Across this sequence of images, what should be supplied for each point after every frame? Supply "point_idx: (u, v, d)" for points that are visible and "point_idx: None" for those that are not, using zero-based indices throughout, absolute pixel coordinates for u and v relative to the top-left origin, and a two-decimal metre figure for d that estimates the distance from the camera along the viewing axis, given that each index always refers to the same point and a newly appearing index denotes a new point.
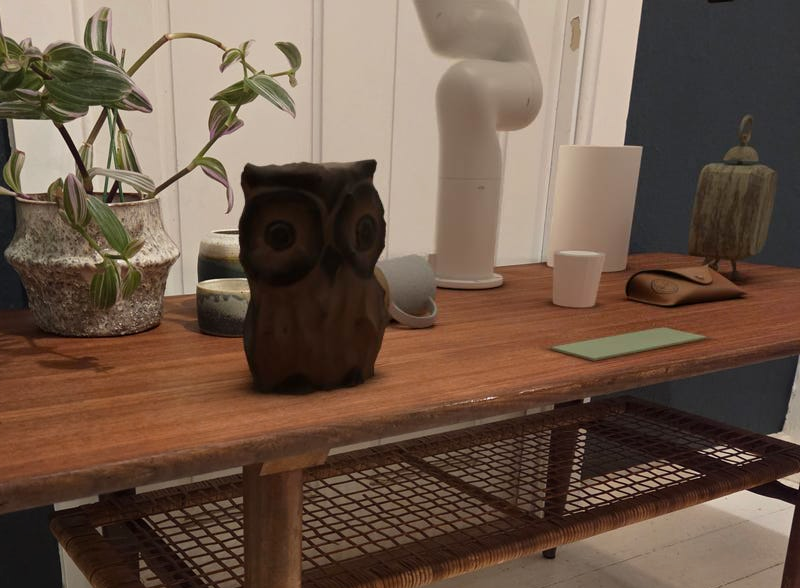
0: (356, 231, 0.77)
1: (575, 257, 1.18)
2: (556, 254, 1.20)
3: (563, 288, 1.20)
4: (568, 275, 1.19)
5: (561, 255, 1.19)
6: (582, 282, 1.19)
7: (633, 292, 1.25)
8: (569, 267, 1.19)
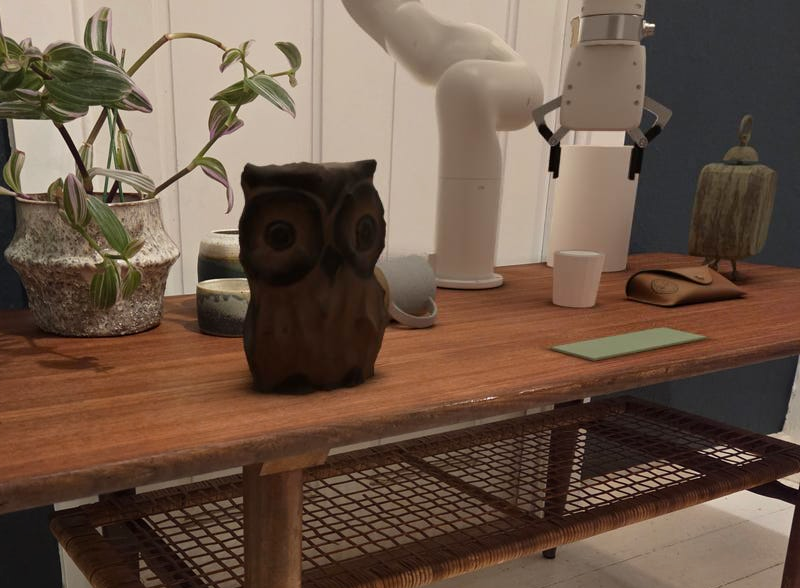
0: (356, 231, 0.77)
1: (575, 257, 1.18)
2: (556, 254, 1.20)
3: (563, 288, 1.20)
4: (568, 275, 1.19)
5: (561, 255, 1.19)
6: (582, 282, 1.19)
7: (633, 292, 1.25)
8: (569, 267, 1.19)
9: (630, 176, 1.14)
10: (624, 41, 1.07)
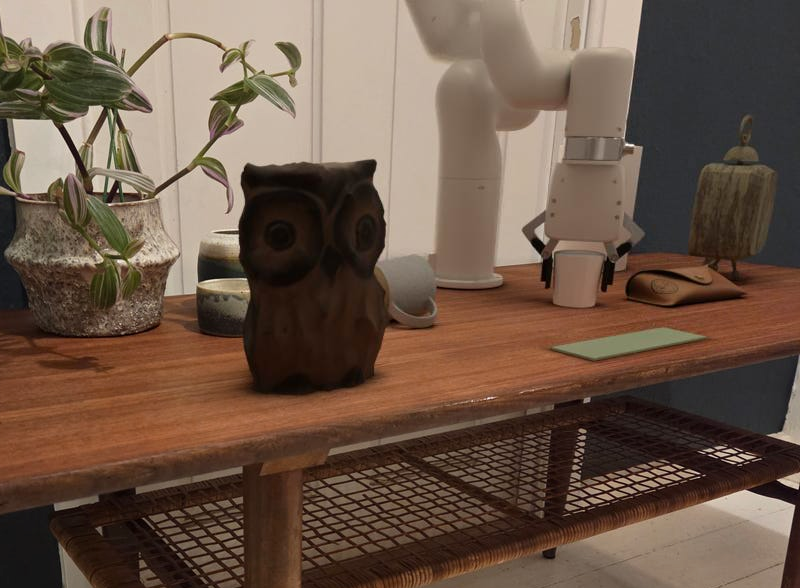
0: (356, 231, 0.77)
1: (575, 257, 1.18)
2: (556, 254, 1.20)
3: (563, 288, 1.20)
4: (568, 275, 1.19)
5: (561, 255, 1.19)
6: (582, 282, 1.19)
7: (633, 292, 1.25)
8: (569, 267, 1.19)
9: (602, 288, 1.20)
10: (605, 162, 1.13)
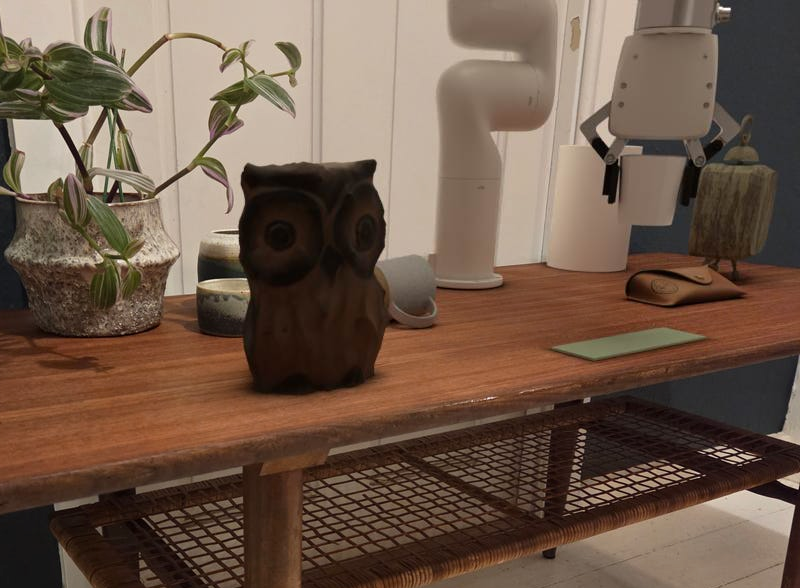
0: (356, 231, 0.77)
1: (651, 158, 0.91)
2: (625, 157, 0.94)
3: (633, 201, 0.94)
4: (641, 183, 0.93)
5: (632, 157, 0.93)
6: (659, 192, 0.93)
7: (633, 292, 1.26)
8: (642, 172, 0.92)
9: (683, 201, 0.94)
10: (694, 29, 0.86)
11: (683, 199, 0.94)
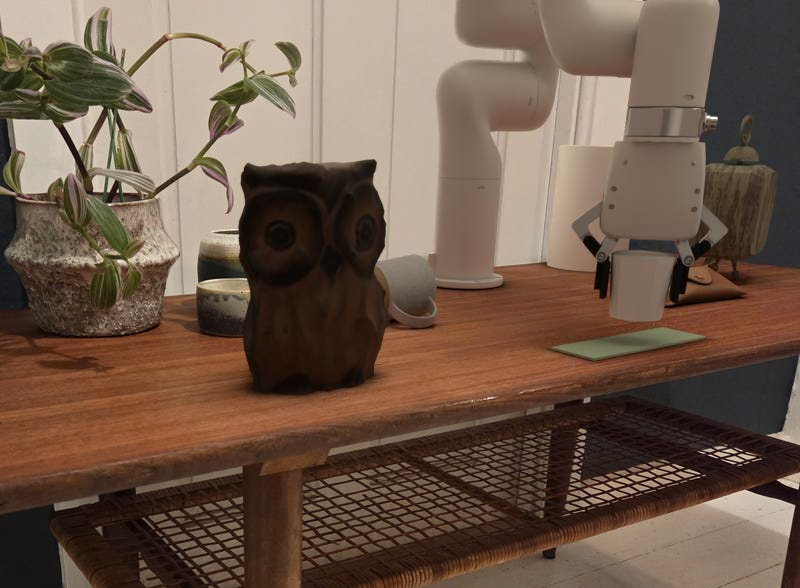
0: (356, 231, 0.77)
1: (641, 259, 0.94)
2: (615, 255, 0.96)
3: (624, 297, 0.97)
4: (631, 281, 0.95)
5: (622, 256, 0.95)
6: (648, 290, 0.95)
7: None
8: (632, 271, 0.95)
9: (673, 298, 0.96)
10: (681, 139, 0.89)
11: (672, 296, 0.96)
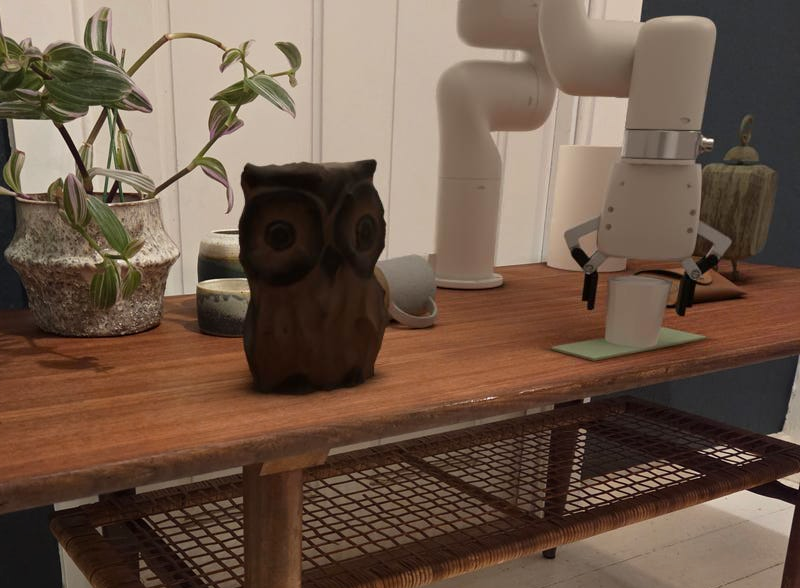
0: (356, 231, 0.77)
1: (636, 286, 0.95)
2: (611, 281, 0.97)
3: (620, 323, 0.98)
4: (627, 308, 0.96)
5: (618, 283, 0.96)
6: (644, 316, 0.96)
7: None
8: (628, 298, 0.96)
9: (679, 312, 0.97)
10: (678, 161, 0.90)
11: (679, 310, 0.97)
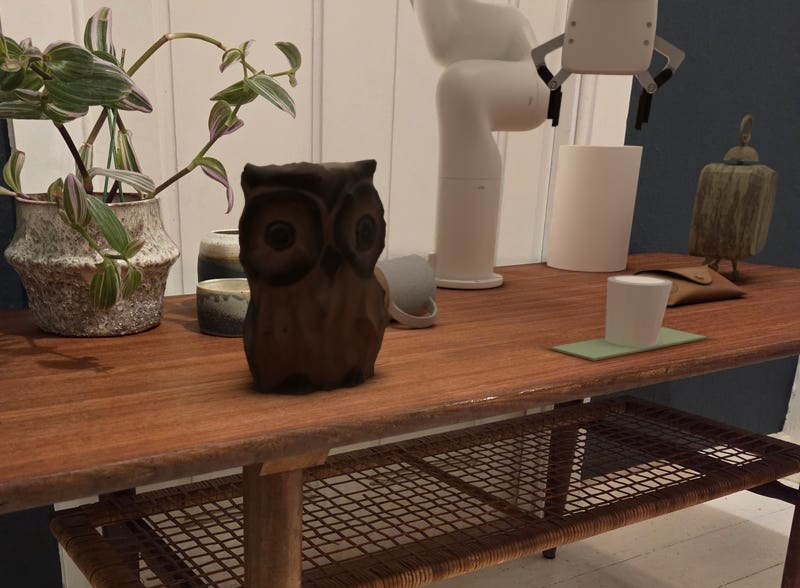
0: (356, 231, 0.77)
1: (636, 286, 0.95)
2: (611, 281, 0.97)
3: (620, 323, 0.98)
4: (627, 308, 0.96)
5: (618, 283, 0.96)
6: (644, 316, 0.96)
7: None
8: (628, 298, 0.96)
9: (636, 125, 1.04)
10: None
11: (636, 123, 1.04)
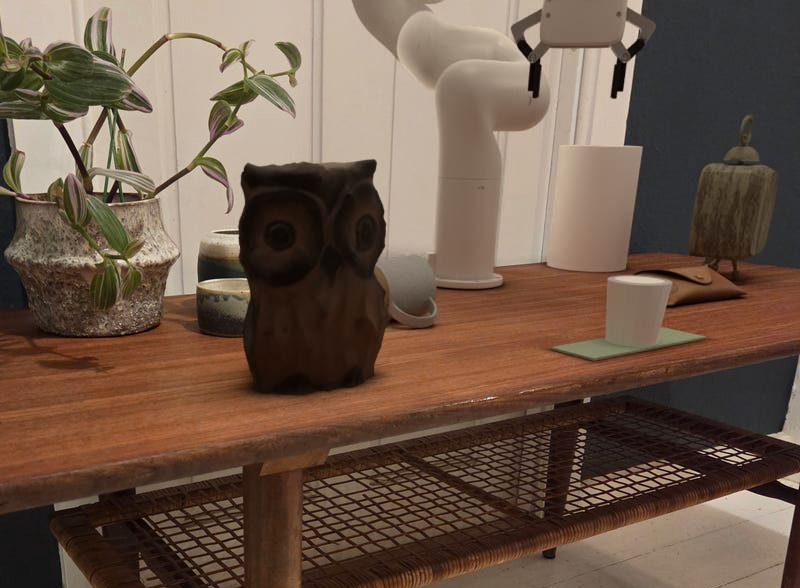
0: (356, 231, 0.77)
1: (636, 286, 0.95)
2: (611, 281, 0.97)
3: (620, 323, 0.98)
4: (626, 308, 0.96)
5: (618, 283, 0.96)
6: (644, 316, 0.96)
7: None
8: (628, 298, 0.96)
9: (612, 93, 1.09)
10: None
11: (612, 92, 1.10)
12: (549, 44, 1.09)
